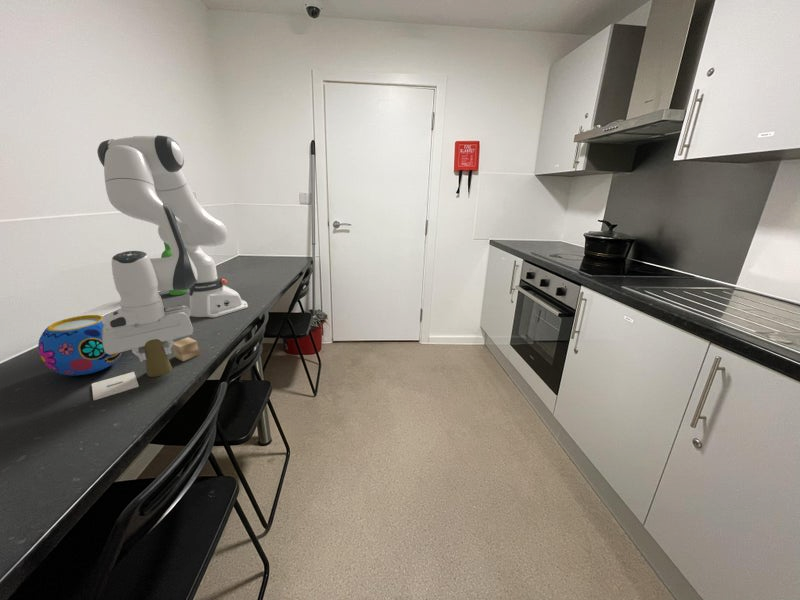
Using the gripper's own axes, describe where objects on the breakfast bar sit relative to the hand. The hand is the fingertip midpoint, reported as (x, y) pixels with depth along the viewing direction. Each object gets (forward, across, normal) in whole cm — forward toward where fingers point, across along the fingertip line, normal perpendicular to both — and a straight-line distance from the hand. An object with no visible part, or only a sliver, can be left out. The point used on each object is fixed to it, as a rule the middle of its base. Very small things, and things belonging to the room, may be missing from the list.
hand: (156, 356), depth 93 cm
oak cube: (+5, -8, -5) cm, 11 cm away
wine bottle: (+5, -20, -79) cm, 82 cm away
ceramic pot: (+5, +14, -14) cm, 20 cm away
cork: (+5, 0, 0) cm, 5 cm away
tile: (+5, +10, +1) cm, 11 cm away
